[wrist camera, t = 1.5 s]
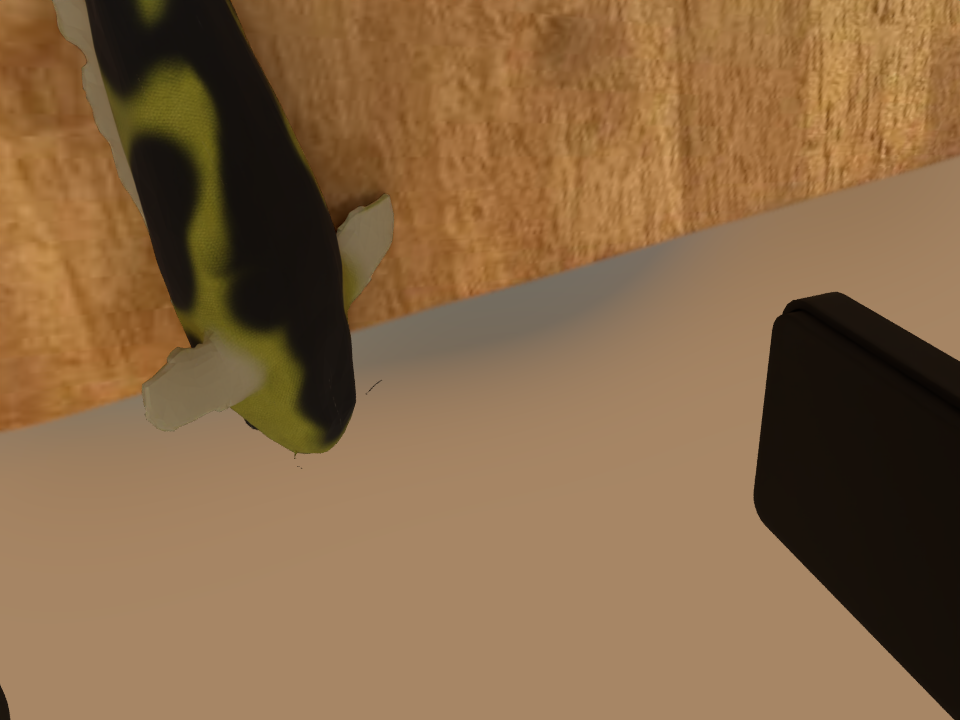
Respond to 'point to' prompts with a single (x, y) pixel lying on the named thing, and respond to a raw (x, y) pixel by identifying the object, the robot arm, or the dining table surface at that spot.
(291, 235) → the fish
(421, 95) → the dining table surface
